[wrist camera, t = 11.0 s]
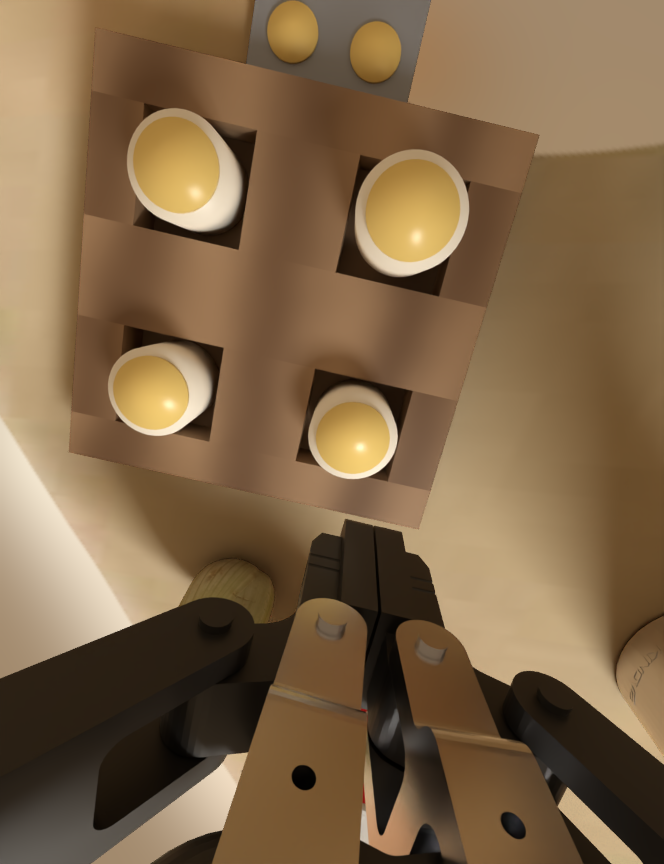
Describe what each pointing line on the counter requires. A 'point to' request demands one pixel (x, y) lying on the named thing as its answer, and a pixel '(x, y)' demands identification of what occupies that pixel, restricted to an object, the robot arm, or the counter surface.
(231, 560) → the fennel bulb
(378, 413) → the button
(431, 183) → the button
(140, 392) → the button
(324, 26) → the card
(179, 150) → the button
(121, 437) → the board
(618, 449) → the counter surface
